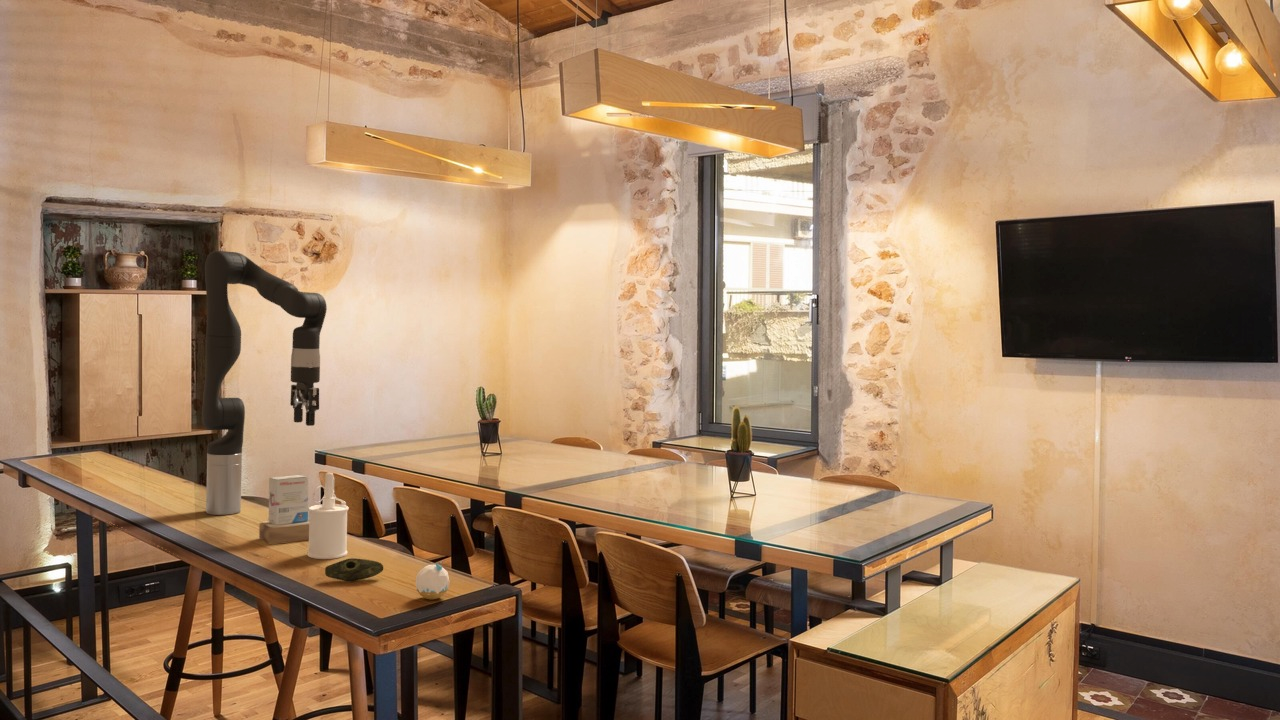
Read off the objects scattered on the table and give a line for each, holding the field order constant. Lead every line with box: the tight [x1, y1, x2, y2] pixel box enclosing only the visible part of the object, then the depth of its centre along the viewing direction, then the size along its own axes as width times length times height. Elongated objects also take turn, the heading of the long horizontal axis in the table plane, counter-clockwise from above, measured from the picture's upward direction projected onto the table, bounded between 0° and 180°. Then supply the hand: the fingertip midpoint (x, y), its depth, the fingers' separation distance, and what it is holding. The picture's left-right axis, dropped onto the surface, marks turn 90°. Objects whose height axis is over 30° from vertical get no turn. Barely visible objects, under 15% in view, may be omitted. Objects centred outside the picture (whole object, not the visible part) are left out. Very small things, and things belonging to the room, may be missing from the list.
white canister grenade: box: [307, 471, 350, 560], centre depth 227 cm, size 10×9×20 cm
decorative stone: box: [324, 558, 384, 583], centre depth 205 cm, size 11×8×5 cm
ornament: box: [415, 561, 451, 601], centre depth 193 cm, size 7×7×8 cm
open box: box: [258, 518, 309, 545], centre depth 241 cm, size 8×12×4 cm, turn 131°
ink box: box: [268, 474, 309, 525], centre depth 241 cm, size 9×5×12 cm, turn 133°
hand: (304, 423), depth 257 cm, fingers open, 8 cm apart
